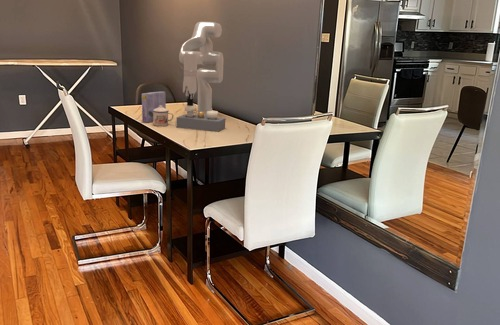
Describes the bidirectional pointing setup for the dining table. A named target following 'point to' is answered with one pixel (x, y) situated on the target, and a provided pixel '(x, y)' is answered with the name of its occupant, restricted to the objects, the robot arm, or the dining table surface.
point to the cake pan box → (151, 104)
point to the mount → (200, 123)
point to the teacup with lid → (161, 116)
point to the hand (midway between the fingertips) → (190, 105)
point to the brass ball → (200, 114)
